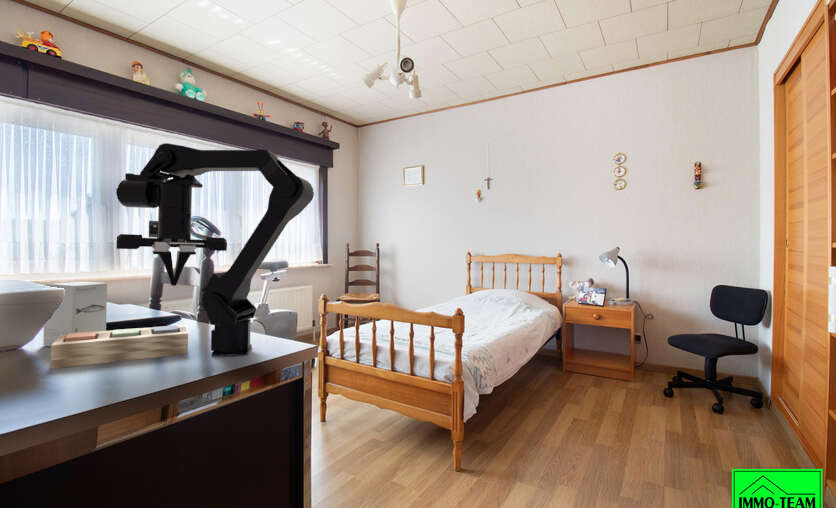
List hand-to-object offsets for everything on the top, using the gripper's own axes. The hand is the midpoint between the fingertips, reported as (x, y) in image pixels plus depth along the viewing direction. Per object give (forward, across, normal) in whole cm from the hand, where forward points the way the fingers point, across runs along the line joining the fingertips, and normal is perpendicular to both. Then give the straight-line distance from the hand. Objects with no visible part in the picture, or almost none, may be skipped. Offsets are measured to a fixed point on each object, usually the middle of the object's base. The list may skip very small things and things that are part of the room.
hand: (173, 285), depth 81 cm
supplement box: (+13, +16, -13) cm, 25 cm away
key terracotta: (+11, +14, +1) cm, 18 cm away
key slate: (+11, +1, +1) cm, 11 cm away
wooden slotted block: (+13, +8, +1) cm, 15 cm away
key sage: (+11, +8, +1) cm, 13 cm away
